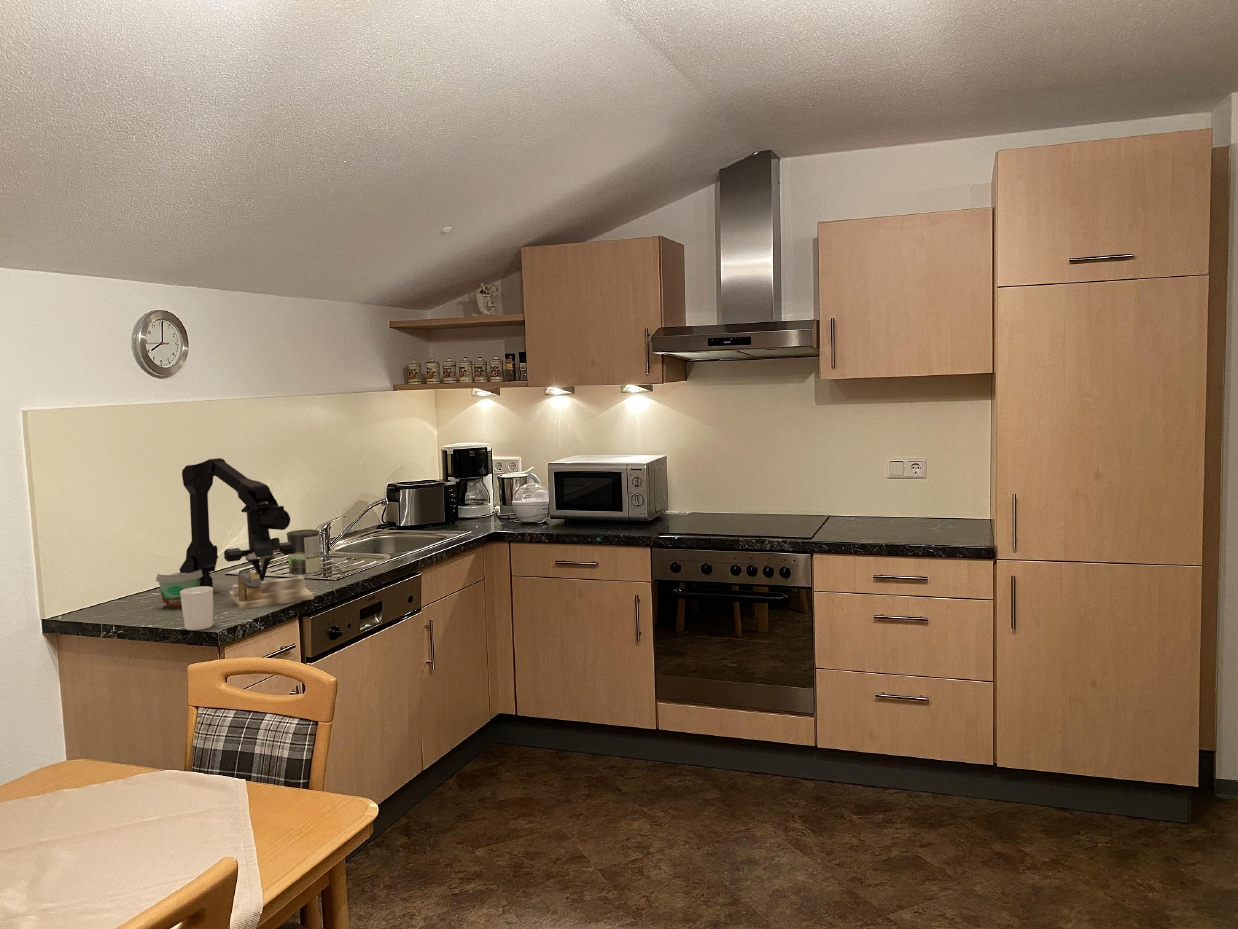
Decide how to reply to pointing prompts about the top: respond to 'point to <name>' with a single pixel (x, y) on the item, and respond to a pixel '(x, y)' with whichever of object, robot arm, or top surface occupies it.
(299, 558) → the coffee can
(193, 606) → the white cup
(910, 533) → the top surface
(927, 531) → the top surface
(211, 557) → the robot arm
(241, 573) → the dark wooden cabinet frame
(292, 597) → the wooden base tray
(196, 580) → the food container
